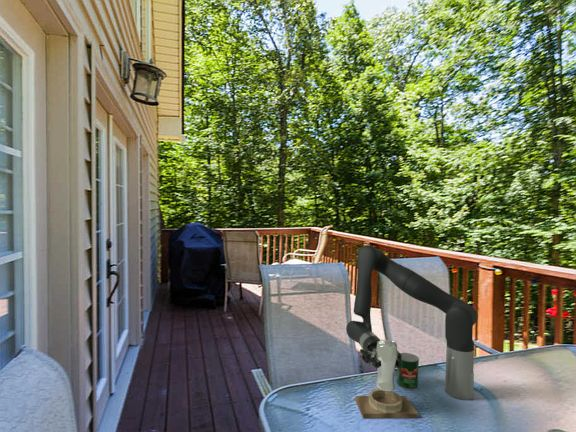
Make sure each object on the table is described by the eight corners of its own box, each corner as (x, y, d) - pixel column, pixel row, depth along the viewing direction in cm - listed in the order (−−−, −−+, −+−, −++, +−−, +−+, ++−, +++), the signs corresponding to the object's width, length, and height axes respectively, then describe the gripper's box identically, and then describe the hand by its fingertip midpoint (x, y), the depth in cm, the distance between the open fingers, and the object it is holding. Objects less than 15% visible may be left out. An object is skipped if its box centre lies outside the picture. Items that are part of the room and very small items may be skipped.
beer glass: (396, 393, 118) (398, 348, 117) (375, 390, 119) (376, 346, 118) (394, 383, 124) (396, 340, 124) (374, 380, 126) (376, 338, 125)
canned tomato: (405, 391, 134) (406, 362, 133) (392, 381, 141) (393, 354, 141) (422, 388, 137) (423, 359, 136) (408, 378, 144) (409, 351, 144)
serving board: (405, 400, 128) (405, 388, 128) (417, 418, 117) (418, 405, 117) (355, 400, 127) (355, 388, 127) (363, 418, 116) (363, 406, 116)
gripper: (353, 335, 135) (368, 354, 118) (390, 335, 136) (410, 353, 120) (353, 355, 135) (367, 376, 119) (390, 355, 137) (409, 376, 120)
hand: (388, 365), depth 119 cm, fingers closed on beer glass, 6 cm apart
